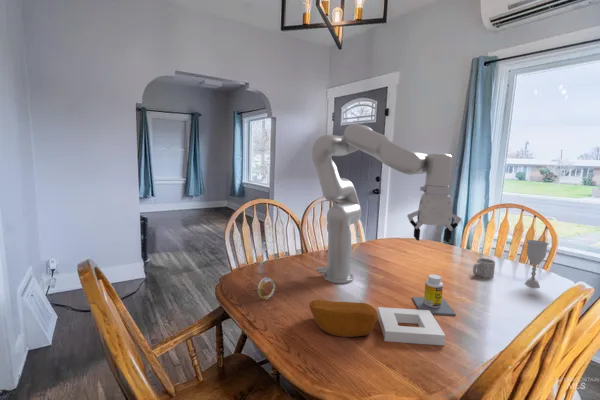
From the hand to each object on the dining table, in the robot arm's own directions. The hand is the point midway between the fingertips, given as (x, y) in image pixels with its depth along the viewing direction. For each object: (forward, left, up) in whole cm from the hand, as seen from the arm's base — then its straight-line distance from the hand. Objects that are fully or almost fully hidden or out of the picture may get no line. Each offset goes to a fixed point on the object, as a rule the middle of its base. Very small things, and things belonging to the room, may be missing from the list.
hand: (431, 240), depth 106 cm
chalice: (+48, +23, -23) cm, 58 cm away
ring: (-57, -4, -23) cm, 61 cm away
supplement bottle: (+1, -2, -23) cm, 23 cm away
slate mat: (+1, -2, -23) cm, 23 cm away
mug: (+32, +31, -23) cm, 50 cm away
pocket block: (-11, -18, -23) cm, 31 cm away
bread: (-30, -19, -23) cm, 43 cm away
